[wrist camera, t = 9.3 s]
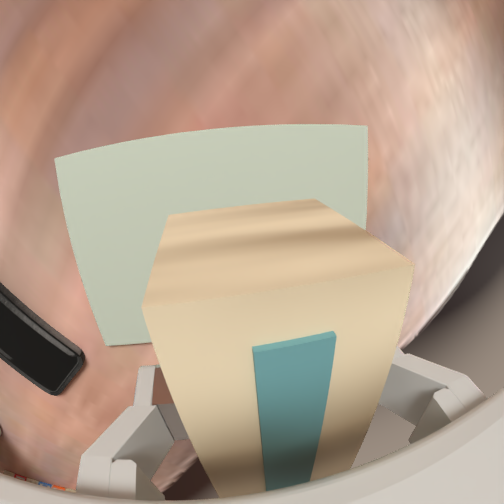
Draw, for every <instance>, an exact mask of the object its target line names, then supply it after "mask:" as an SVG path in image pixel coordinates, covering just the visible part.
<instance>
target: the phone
mask: <svg viewBox="0 0 504 504" xmlns="http://www.w3.org/2000/svg"><path fill="white" fill-rule="evenodd" d="M0 358H1V359H2V360H3V361H5V362H6V363H7V364H8V365H10V366H11V367H12V368H13V369H15V370H16V371H17V372H19V373H20V374H21V375H22V376H24V377H25V378H27V379H28V380H29V381H31V382H32V383H33V384H35V385H36V386H38V387H39V388H41V389H42V390H44V391H45V392H47V393H48V394H50V395H54V396H57V395H59V394H60V393H61V392H62V391H63V390H64V388H65V387H66V386H67V385H68V383H69V382H70V381H71V380H72V378H73V377H74V376H75V375H76V373H77V372H78V371H79V370H80V368H81V367H82V365H83V363H84V360H85V355H84V352H83V351H82V350H81V349H80V348H79V347H78V346H77V345H75V344H74V343H73V342H71V341H70V340H68V339H67V338H66V337H64V336H63V335H62V334H60V333H59V332H58V331H56V330H55V329H54V328H53V327H51V326H50V325H49V324H47V323H46V322H45V321H44V320H42V319H41V318H40V317H39V316H38V315H36V314H35V313H34V312H33V311H32V310H30V309H29V308H28V307H27V306H26V305H25V304H23V303H22V302H21V301H20V300H19V299H18V298H17V297H16V296H14V295H13V294H12V293H11V292H10V291H9V290H8V289H7V288H6V287H5V286H4V285H3V284H2V283H1V282H0Z"/></svg>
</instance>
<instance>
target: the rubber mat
mask: <svg viewBox="0 0 504 504" xmlns="http://www.w3.org/2000/svg"><path fill="white" fill-rule="evenodd" d="M55 165H56V172H57V178H58V184H59V190H60V195H61V200H62V205H63V210H64V215H65V219H66V224H67V228H68V232H69V236H70V240H71V244H72V248H73V252H74V255H75V259H76V262H77V266H78V269H79V272H80V276H81V279H82V282H83V285H84V288H85V291H86V294H87V297H88V300H89V303H90V306H91V309H92V311H93V314H94V317H95V319H96V322H97V325H98V327H99V330H100V332H101V335H102V337H103V340H104V342H105V344H106V346H112V345H126V344H138V343H149V342H152V341H151V338H150V334H149V331H148V328H147V325H146V322H145V318H144V315H143V312H142V308H141V307H142V303H143V299H144V295H145V292H146V288H147V284H148V281H149V277H150V274H151V270H152V267H153V263H154V260H155V257H156V253H157V250H158V247H159V243H160V240H161V237H162V234H163V231H164V228H165V225H166V221H167V218H168V215H171V214H179V213H186V212H193V211H201V210H209V209H217V208H225V207H234V206H243V205H252V204H261V203H271V202H281V201H292V200H303V199H314V198H315V199H316V200H318V201H320V202H321V203H323V204H325V205H326V206H328V207H329V208H331V209H333V210H334V211H336V212H338V213H339V214H341V215H342V216H344V217H345V218H347V219H349V220H350V221H352V222H353V223H355V224H356V225H358V226H359V227H361V228H363V229H364V230H366V215H367V190H368V127H367V126H361V125H336V124H286V125H260V126H243V127H230V128H218V129H208V130H199V131H191V132H183V133H175V134H168V135H162V136H155V137H149V138H143V139H137V140H132V141H127V142H122V143H117V144H112V145H107V146H102V147H98V148H93V149H89V150H85V151H81V152H77V153H73V154H69V155H65V156H62V157H58V158H55Z"/></svg>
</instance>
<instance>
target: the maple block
mask: <svg viewBox="0 0 504 504" xmlns="http://www.w3.org/2000/svg"><path fill="white" fill-rule="evenodd" d="M414 267H415V264H414V263H412V262H411V261H409V260H408V259H407V258H405V257H404V256H402V255H401V254H400V253H398V252H397V251H395V250H394V249H392V248H391V247H389V246H388V245H386V244H385V243H384V242H382V241H381V240H379V239H378V238H376V237H375V236H373V235H372V234H370V233H369V232H367V231H366V230H364V229H363V228H361V227H359V226H358V225H356V224H355V223H353V222H352V221H350V220H349V219H347V218H345V217H344V216H342V215H341V214H339V213H338V212H336V211H334V210H333V209H331V208H329V207H328V206H326V205H325V204H323V203H321V202H320V201H318V200H316V199H315V198H314V199H303V200H292V201H281V202H271V203H261V204H252V205H243V206H234V207H225V208H217V209H209V210H201V211H193V212H186V213H179V214H171V215H168V218H167V221H166V225H165V228H164V231H163V234H162V237H161V240H160V243H159V247H158V250H157V253H156V257H155V260H154V263H153V267H152V270H151V274H150V277H149V281H148V284H147V288H146V292H145V295H144V299H143V303H142V307H141V308H142V312H143V315H144V318H145V322H146V325H147V328H148V331H149V334H150V338H151V341H152V344H153V347H154V350H155V353H156V355H157V358H158V361H159V364H160V367H161V370H162V372H163V375H164V378H165V380H166V383H167V386H168V388H169V391H170V393H171V396H172V398H173V401H174V403H175V406H176V408H177V411H178V413H179V416H180V418H181V420H182V423H183V425H184V427H185V429H186V432H187V434H188V436H189V438H190V440H191V443H192V445H193V447H194V449H195V451H196V453H197V455H198V457H199V460H200V462H201V463H202V465H203V468H204V469H205V472H206V473H207V475H208V477H209V479H210V481H211V483H212V485H213V487H214V489H215V491H216V492H217V494H218V496H219V498H223V497H232V496H240V495H247V494H253V493H259V492H265V491H270V490H275V489H280V488H285V487H289V486H294V485H298V484H302V483H306V482H310V481H313V480H317V479H320V478H324V477H327V476H331V475H334V474H337V473H340V472H343V471H346V470H349V469H350V468H351V466H352V464H353V462H354V460H355V458H356V455H357V453H358V451H359V449H360V447H361V445H362V442H363V440H364V438H365V435H366V433H367V431H368V428H369V426H370V423H371V420H372V418H373V416H374V413H375V410H376V408H377V405H378V402H379V400H380V397H381V394H382V391H383V388H384V385H385V383H386V380H387V376H388V373H389V370H390V367H391V364H392V361H393V357H394V354H395V350H396V347H397V343H398V340H399V336H400V332H401V328H402V324H403V320H404V316H405V312H406V307H407V303H408V298H409V293H410V288H411V283H412V278H413V273H414Z"/></svg>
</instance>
